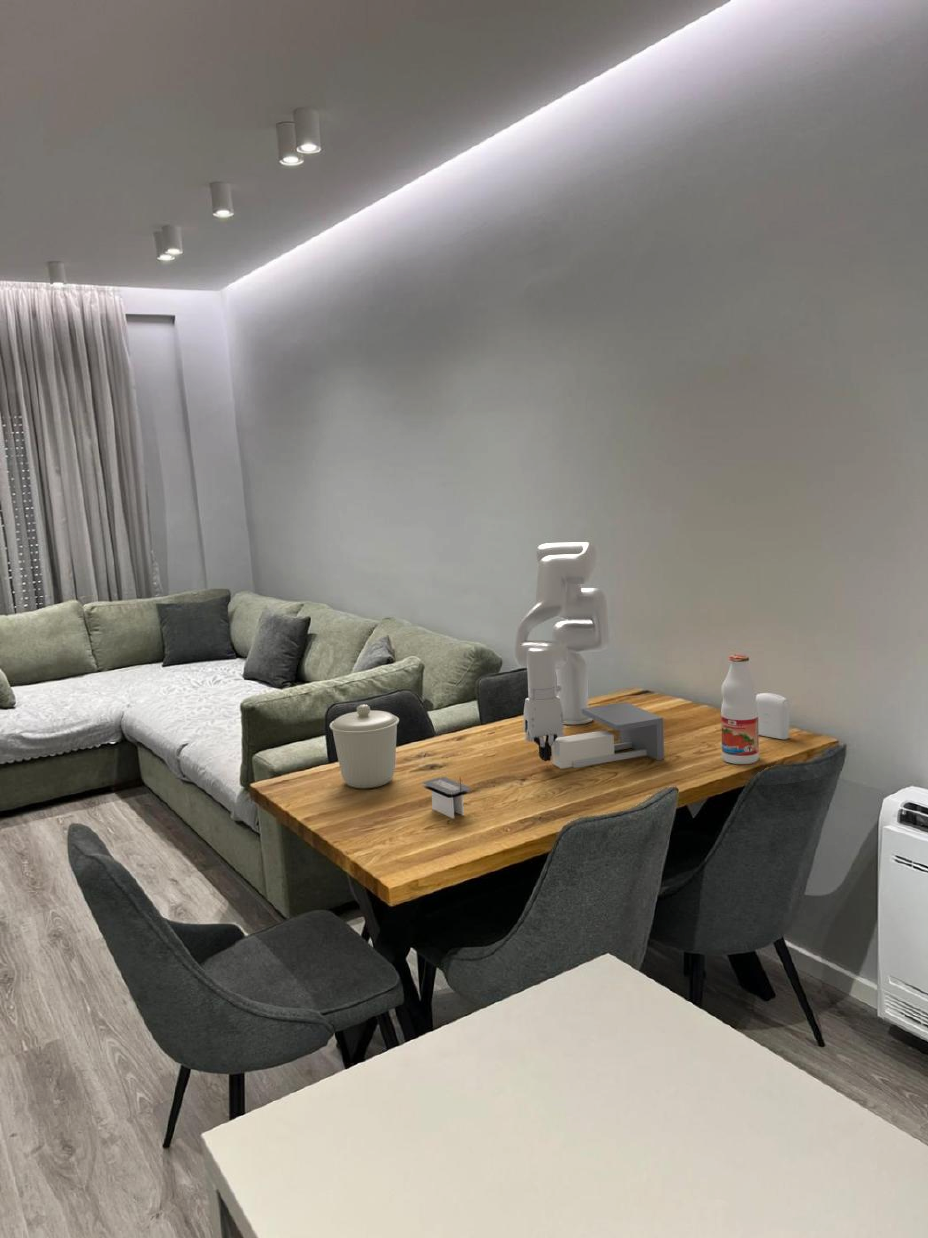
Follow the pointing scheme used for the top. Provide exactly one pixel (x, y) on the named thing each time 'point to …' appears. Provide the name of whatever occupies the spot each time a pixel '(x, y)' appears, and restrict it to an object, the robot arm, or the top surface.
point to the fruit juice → (739, 713)
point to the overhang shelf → (628, 732)
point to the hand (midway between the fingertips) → (545, 759)
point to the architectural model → (447, 795)
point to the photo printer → (773, 715)
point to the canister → (366, 746)
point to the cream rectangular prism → (582, 747)
